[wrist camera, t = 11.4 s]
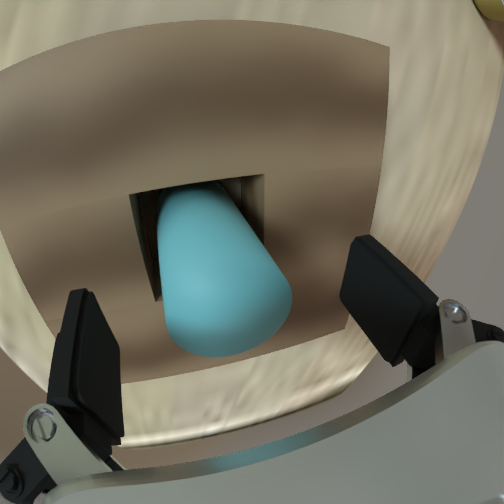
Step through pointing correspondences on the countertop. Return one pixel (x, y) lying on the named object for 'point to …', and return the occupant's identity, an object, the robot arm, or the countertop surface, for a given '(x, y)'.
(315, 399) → the countertop surface
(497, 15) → the bark patterned cylinder
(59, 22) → the countertop surface
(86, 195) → the socket block
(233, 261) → the dowel peg
